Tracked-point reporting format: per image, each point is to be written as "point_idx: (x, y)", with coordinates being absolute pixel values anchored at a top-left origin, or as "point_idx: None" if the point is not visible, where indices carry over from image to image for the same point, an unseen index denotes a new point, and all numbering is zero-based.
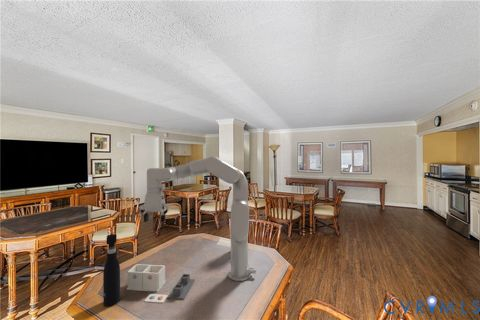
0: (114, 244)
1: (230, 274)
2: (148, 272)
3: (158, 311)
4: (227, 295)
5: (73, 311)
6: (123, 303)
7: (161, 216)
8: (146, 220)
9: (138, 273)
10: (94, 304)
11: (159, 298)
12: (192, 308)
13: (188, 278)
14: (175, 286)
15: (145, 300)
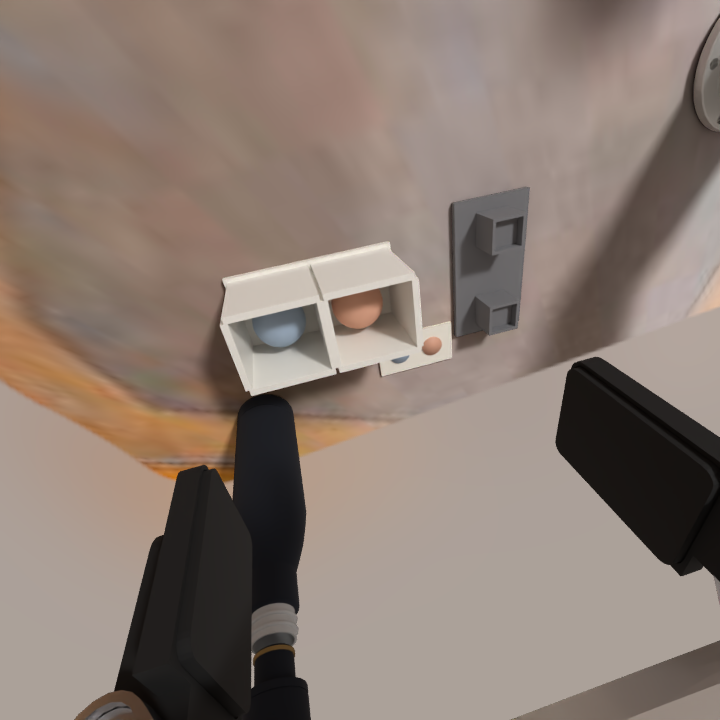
0: (293, 666)
1: (713, 91)
2: (368, 360)
3: (455, 387)
4: (665, 245)
5: None
6: (315, 405)
7: (660, 545)
8: (241, 538)
9: (314, 376)
10: (216, 444)
11: (430, 350)
12: (553, 342)
13: (518, 227)
14: (491, 319)
15: (384, 372)
